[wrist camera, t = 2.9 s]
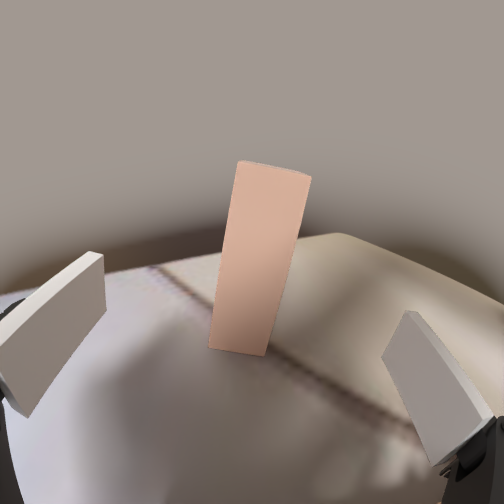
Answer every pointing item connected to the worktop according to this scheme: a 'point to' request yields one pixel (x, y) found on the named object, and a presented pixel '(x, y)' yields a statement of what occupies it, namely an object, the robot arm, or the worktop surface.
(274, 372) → the worktop surface
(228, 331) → the clay bar
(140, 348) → the worktop surface
